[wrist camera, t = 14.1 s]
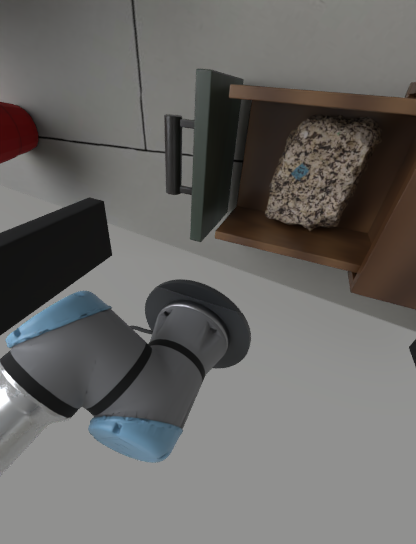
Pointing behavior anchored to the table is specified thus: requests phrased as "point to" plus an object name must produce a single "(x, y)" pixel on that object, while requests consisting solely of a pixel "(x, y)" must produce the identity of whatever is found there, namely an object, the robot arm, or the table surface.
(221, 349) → the robot arm
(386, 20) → the table surface
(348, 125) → the stone
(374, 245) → the cabinet
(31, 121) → the plastic cup
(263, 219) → the drawer
